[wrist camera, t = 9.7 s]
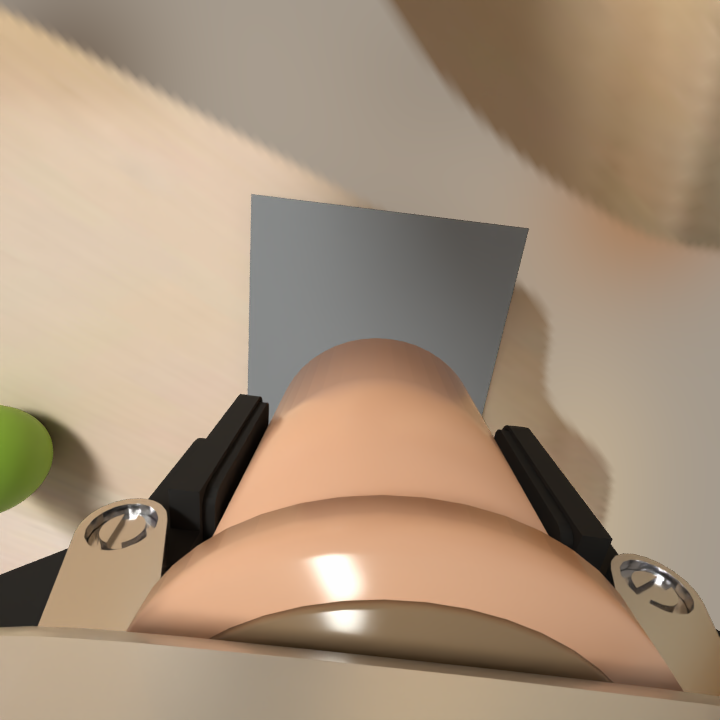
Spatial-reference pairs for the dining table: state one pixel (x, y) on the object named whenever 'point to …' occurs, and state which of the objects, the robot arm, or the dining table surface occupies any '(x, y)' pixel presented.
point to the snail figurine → (22, 456)
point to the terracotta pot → (396, 538)
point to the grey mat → (374, 288)
